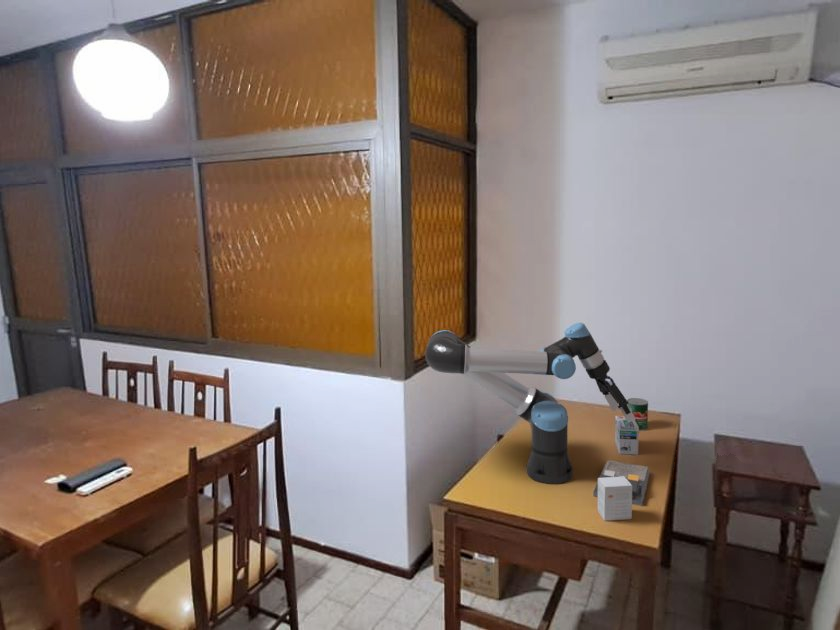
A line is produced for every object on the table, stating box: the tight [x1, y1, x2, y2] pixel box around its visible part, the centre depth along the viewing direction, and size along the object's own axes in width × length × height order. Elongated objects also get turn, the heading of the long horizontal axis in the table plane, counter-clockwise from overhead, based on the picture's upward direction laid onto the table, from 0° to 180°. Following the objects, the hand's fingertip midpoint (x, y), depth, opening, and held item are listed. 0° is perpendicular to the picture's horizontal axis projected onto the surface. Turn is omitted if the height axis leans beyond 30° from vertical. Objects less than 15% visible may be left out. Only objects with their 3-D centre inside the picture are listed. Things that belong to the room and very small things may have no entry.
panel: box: [592, 459, 651, 507], centre depth 169 cm, size 22×14×4 cm, turn 152°
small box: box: [597, 476, 633, 522], centre depth 152 cm, size 8×6×10 cm
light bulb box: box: [614, 415, 640, 456], centre depth 195 cm, size 11×7×11 cm, turn 168°
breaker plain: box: [603, 470, 615, 478], centre depth 166 cm, size 7×3×2 cm, turn 152°
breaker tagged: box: [628, 474, 639, 496], centre depth 162 cm, size 7×3×2 cm, turn 152°
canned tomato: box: [626, 397, 649, 432], centre depth 214 cm, size 8×8×11 cm
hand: (623, 414), depth 187 cm, fingers open, 13 cm apart
